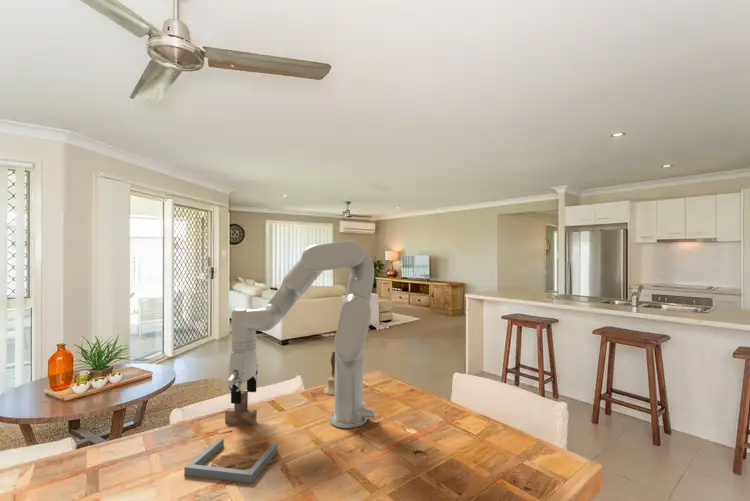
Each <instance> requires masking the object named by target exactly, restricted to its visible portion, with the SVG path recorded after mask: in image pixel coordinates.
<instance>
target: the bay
mask: <svg viewBox="0 0 750 501" xmlns="http://www.w3.org/2000/svg"><path fill="white" fill-rule="evenodd" d="M224 441H225V440H224V438H218V439H216V440H215V441H214V442H213V443H212V444H210V445H209V446H208V447H207V448H206V449H205V450H203V451H202V452H201V453H200V454H198V455H197V456H196V457H195V458H194V459H192V460H191V461H190V462H189V463H188V464H186V465H185V466H184V467H183V468H184V472H183V473H184V474H183V475H184V476H188V477H196V478H204V479H212V480H220V481H230V482H237V483H245V484H252V483H253V482H254V481H255V479H257V477H258V476H259V474H261V472H262V471H263V470H264V468H266V466H267V465H268V464H269V462H271V460H272V459H273V458H274V456H276V455H277V453H278V447H279V446H278V443H272V444H271V445H270V446H269V447H268V448H267V450H265V451H264V453H263V454H262V455H261V456H260V457H259V458H258V459H259V460H258V461H257V462H256V463H255V464H254V465H253V466H251V468H250V469H249V470H247V469H246V470H244V469H230V468H221V467H212V466H211V465H204V464H205V463H206V462H207V461H209V459H210V458H212V457H213V456H214V455H215V454H216V453H217V452H218V451H220V450H221V449H222V448H223V447H224V443H225V442H224Z"/></svg>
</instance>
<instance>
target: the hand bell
mask: <svg viewBox="0 0 750 501" xmlns="http://www.w3.org/2000/svg"><path fill="white" fill-rule="evenodd" d="M330 365H331V376H329V377H328V379H327V384H326V387H325V388H324V389H323V394H325V395H327V396H335V351H332V353H331V356H330Z"/></svg>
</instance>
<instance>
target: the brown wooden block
mask: <svg viewBox="0 0 750 501" xmlns="http://www.w3.org/2000/svg"><path fill="white" fill-rule="evenodd" d="M240 391H241V403H240V404H234V408H233V407H227V409H225V411H224V412H225V413H224V418H225V419H224V421H225V422H224V423H226V424H235V425H236V424H238V425H247V426H248V425H249V426H254V425H255V424H256V423H257V422H258V421H257V420H258V418H257V413H258V412H257V409H248V406H249V404H248V403H249V402H248V400H249V394H248V393H249V392H248V391H247V390H245V389H244V390H242V389H240Z"/></svg>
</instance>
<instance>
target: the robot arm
mask: <svg viewBox="0 0 750 501" xmlns="http://www.w3.org/2000/svg"><path fill="white" fill-rule="evenodd" d="M345 268H346V269H347V268H348V270H349V274H348V281H347V287H346V292H345V297H344V298H343V302H342V305H341V308H340V313H339V314H340V315H339V318H338V322H337V323H338V324H337V329H336V334H335V336H334V342H333V350H334V352H335V395H334V404H333V406H334V407H333V408H334V409H333V410H334V412H332V413H331V414H330V415H329V422H330V424H331V425H333V426H334V427H337V428H341V429H353V428H359V427H362V426H363V425H364V424H366V423H367V421H368V418H369V419H376V411H374V409H373V408H371V409H369V408H366V404H365V403H364V400H363V398H364V350H365V345H366V341H367V338H368V337H367V336H368V332H369V327H370V322H371V316H372V308H371V298H372V294H373V287H374V280H375V266H374V263H373V259H372V258H371V256H370V254H369V252H367V250H366V249H365V248H364V247H363V246H362V244H361V243H360V242H358V241H357V240H351V239H350V240H342V241H336V242H328V243H319V244H311V245H308V247H306V248H305V249H304V250H303V252H302V254H301V257H300V258H299V259H298V261H297V262H296V263H295V264H294V266H293V267H292V268H291V269H290V270H289V271H288V273H287V274H286V275H285V276H284V278H283V279H282V282H281V285H280V287H279V288H278V290H277V292H276V293H275V294H274V295H273V296H272V298H271V299H269V301H268V302H267V303H266V304H265V306H263V307H260V308H256V309H255V308H254V307H251V306H250V307H249V306H244V307H243V306H242V307H236V308H234V309H233V310H232V311H231V352H230V359H229V368H228V380H227V385H228V389H229V391H230V403H231V404H232V405H233V404H240V403H241V391H240V390H241V387H242V385H243V384H244V383H245V382H246V391H248V393H256V392H257V379H258V372H259V371H258V370H259V363H258V362H257V353H256V350H257V349H256V348H257V346H256V344H257V336H256V335H257V332H268V331H270V330H272V329H274V327H276V326H277V325H278V324H279V323H280V322H281V321H282V319H283V318H285V316H286V315H287V313H289V311H290V310H291V309H292V307H293V306H294V305H295V304H296V303H297V302H298V300H299V299H301V298H302V297H303V295H304V294H305V293H306V292H307V290H309V289H310V287H311V286H312V285H313V284H314V282H315V281H316V280H317V279H318V277H319V276H320V275H321V274H322V273H323V271H331V270H339V269H345Z"/></svg>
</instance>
